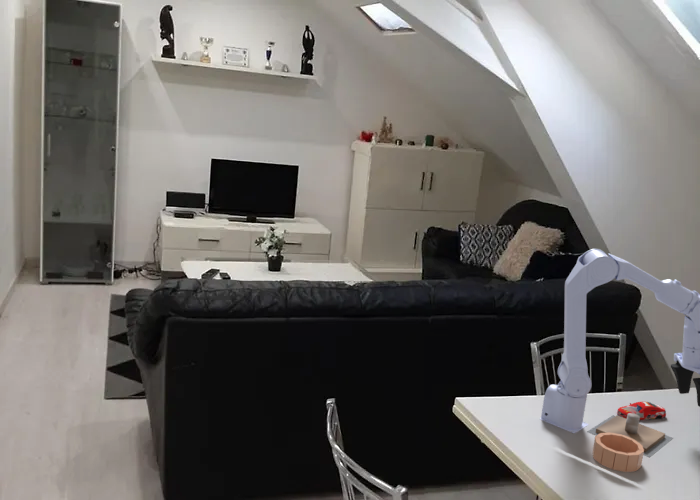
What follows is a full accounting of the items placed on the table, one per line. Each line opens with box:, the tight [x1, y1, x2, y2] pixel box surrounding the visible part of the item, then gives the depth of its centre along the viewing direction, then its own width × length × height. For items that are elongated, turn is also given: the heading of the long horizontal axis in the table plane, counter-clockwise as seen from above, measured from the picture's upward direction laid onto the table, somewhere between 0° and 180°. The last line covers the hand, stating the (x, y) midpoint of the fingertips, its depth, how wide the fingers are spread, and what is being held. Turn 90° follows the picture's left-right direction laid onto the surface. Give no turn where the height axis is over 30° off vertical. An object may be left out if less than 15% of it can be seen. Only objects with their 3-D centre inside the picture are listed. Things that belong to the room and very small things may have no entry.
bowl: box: [591, 432, 644, 473], centre depth 150 cm, size 10×10×4 cm
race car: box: [616, 401, 667, 421], centre depth 174 cm, size 13×5×4 cm, turn 104°
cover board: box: [596, 413, 666, 453], centre depth 162 cm, size 12×12×5 cm
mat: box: [586, 415, 674, 458], centre depth 163 cm, size 15×15×1 cm
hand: (693, 399), depth 161 cm, fingers open, 7 cm apart
